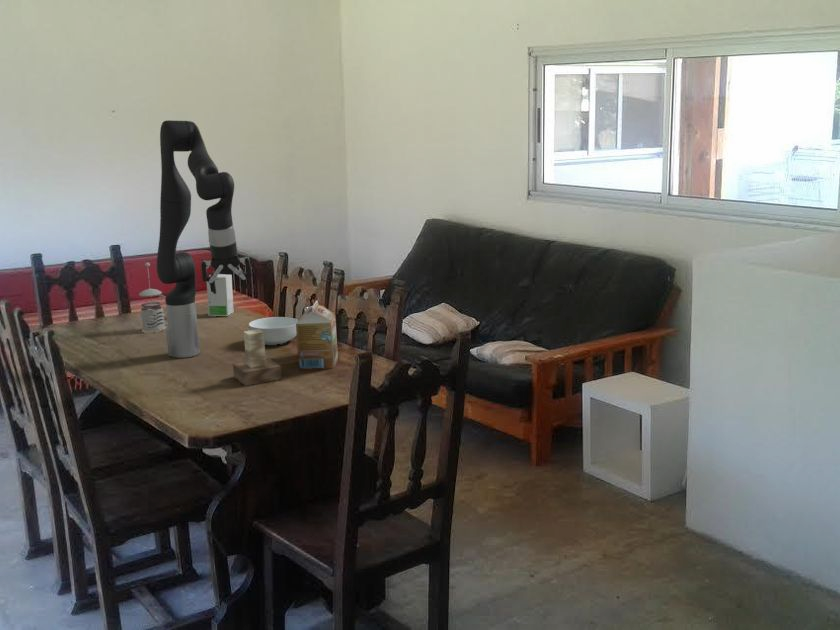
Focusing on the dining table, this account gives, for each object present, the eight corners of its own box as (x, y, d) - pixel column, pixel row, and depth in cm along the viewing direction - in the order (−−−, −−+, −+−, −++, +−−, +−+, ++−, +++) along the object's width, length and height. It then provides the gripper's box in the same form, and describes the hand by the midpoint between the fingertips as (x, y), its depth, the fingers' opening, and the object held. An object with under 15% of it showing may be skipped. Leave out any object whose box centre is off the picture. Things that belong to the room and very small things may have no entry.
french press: (135, 330, 342) (128, 262, 337) (164, 324, 350) (157, 258, 344) (147, 334, 335) (140, 265, 330) (177, 328, 343) (170, 261, 337)
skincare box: (208, 316, 360) (204, 277, 357) (214, 313, 366) (211, 273, 363) (229, 316, 359) (225, 276, 355) (235, 313, 365) (231, 273, 362)
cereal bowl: (267, 351, 306) (265, 330, 304) (240, 343, 318) (239, 322, 316) (310, 341, 316) (308, 321, 315) (283, 333, 329) (281, 314, 327)
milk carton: (304, 359, 294) (300, 300, 290) (337, 358, 293) (334, 299, 289) (299, 369, 283) (294, 307, 279) (333, 368, 283) (330, 306, 279)
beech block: (251, 368, 272) (248, 334, 270) (246, 364, 276) (243, 331, 274) (266, 365, 274) (263, 332, 272) (261, 362, 278) (258, 329, 276)
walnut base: (245, 385, 268) (243, 372, 268) (234, 376, 278) (232, 363, 277) (281, 379, 273) (280, 366, 272) (269, 370, 283) (268, 357, 282)
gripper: (247, 233, 275) (253, 284, 283) (198, 238, 274) (205, 288, 281) (247, 243, 269) (253, 294, 276) (196, 247, 267) (204, 299, 274)
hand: (229, 291), depth 278 cm, fingers open, 8 cm apart
